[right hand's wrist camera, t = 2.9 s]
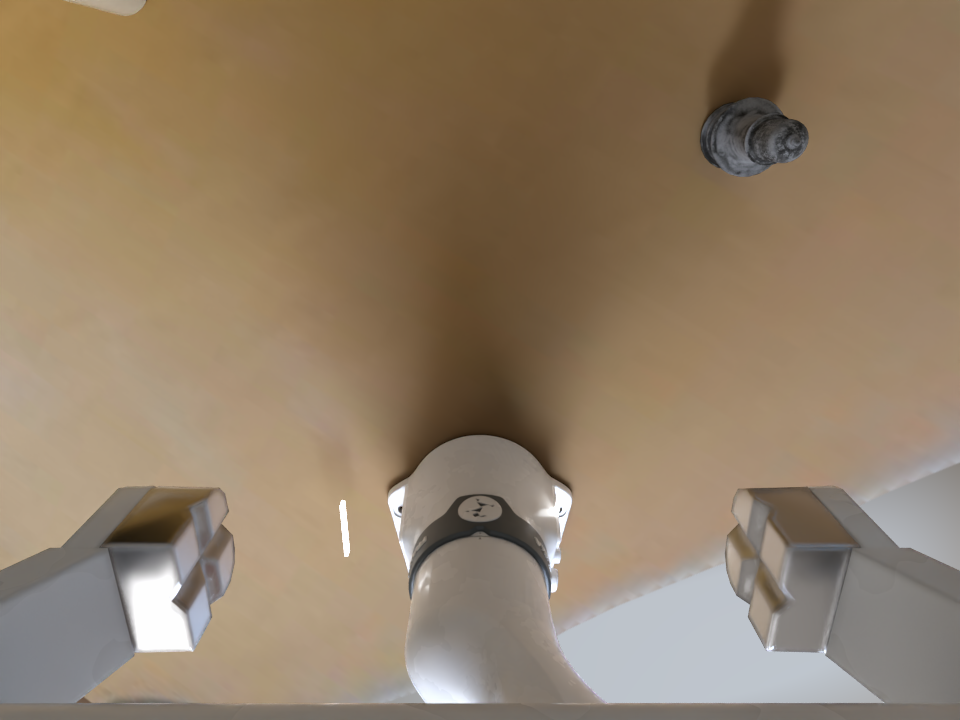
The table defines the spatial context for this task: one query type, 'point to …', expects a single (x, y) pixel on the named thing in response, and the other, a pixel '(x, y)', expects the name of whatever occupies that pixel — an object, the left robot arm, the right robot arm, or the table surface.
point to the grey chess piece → (751, 137)
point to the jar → (113, 5)
